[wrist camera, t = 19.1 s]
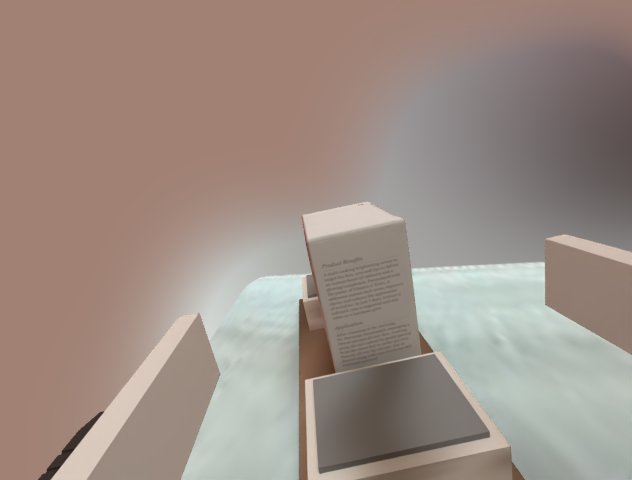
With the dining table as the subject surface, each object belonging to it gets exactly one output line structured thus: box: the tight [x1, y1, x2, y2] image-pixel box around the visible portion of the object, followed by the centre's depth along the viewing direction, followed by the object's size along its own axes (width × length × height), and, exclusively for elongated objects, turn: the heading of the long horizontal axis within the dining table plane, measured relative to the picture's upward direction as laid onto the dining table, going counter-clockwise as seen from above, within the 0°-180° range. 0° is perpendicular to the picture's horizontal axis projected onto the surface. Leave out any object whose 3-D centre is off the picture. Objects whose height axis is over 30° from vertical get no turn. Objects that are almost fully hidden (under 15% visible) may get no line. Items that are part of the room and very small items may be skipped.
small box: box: [302, 202, 421, 373], centre depth 21 cm, size 8×6×10 cm
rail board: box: [299, 275, 525, 480], centre depth 23 cm, size 10×24×4 cm, turn 3°
